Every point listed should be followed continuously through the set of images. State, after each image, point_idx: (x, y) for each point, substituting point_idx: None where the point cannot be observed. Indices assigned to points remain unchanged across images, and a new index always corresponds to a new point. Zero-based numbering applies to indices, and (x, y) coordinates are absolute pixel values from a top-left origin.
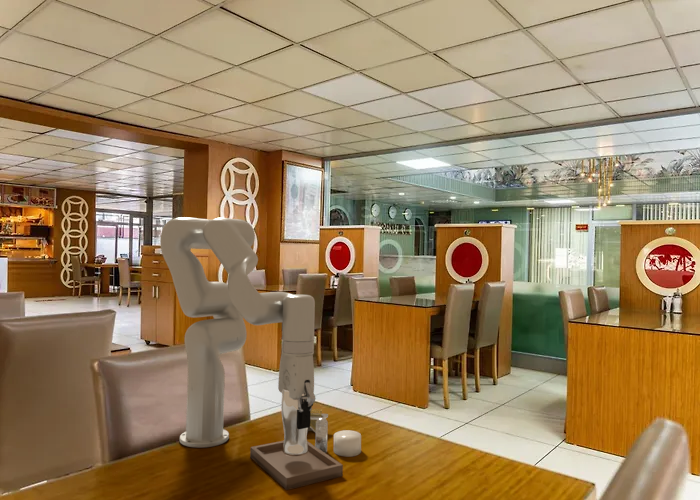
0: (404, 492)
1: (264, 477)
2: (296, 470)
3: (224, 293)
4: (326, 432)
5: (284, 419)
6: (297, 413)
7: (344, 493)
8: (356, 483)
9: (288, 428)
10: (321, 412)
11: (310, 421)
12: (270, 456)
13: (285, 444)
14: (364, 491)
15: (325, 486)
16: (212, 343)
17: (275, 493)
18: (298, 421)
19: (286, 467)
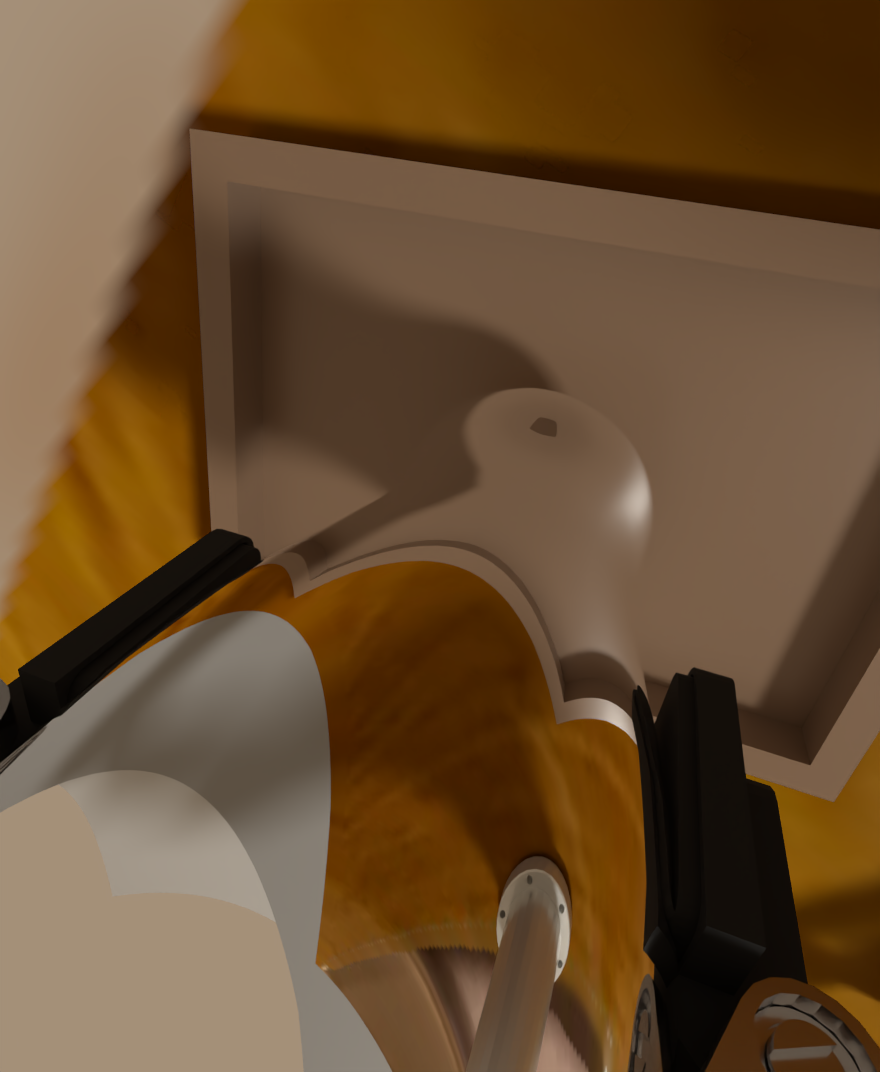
0: (14, 618)
1: (545, 107)
2: (407, 376)
3: None
4: None
5: (402, 526)
6: (76, 655)
7: (81, 421)
8: (154, 550)
9: (390, 495)
10: None
11: None
12: (821, 392)
13: (520, 428)
14: (69, 511)
15: (188, 401)
16: None
17: (239, 17)
18: (149, 580)
19: (504, 350)
